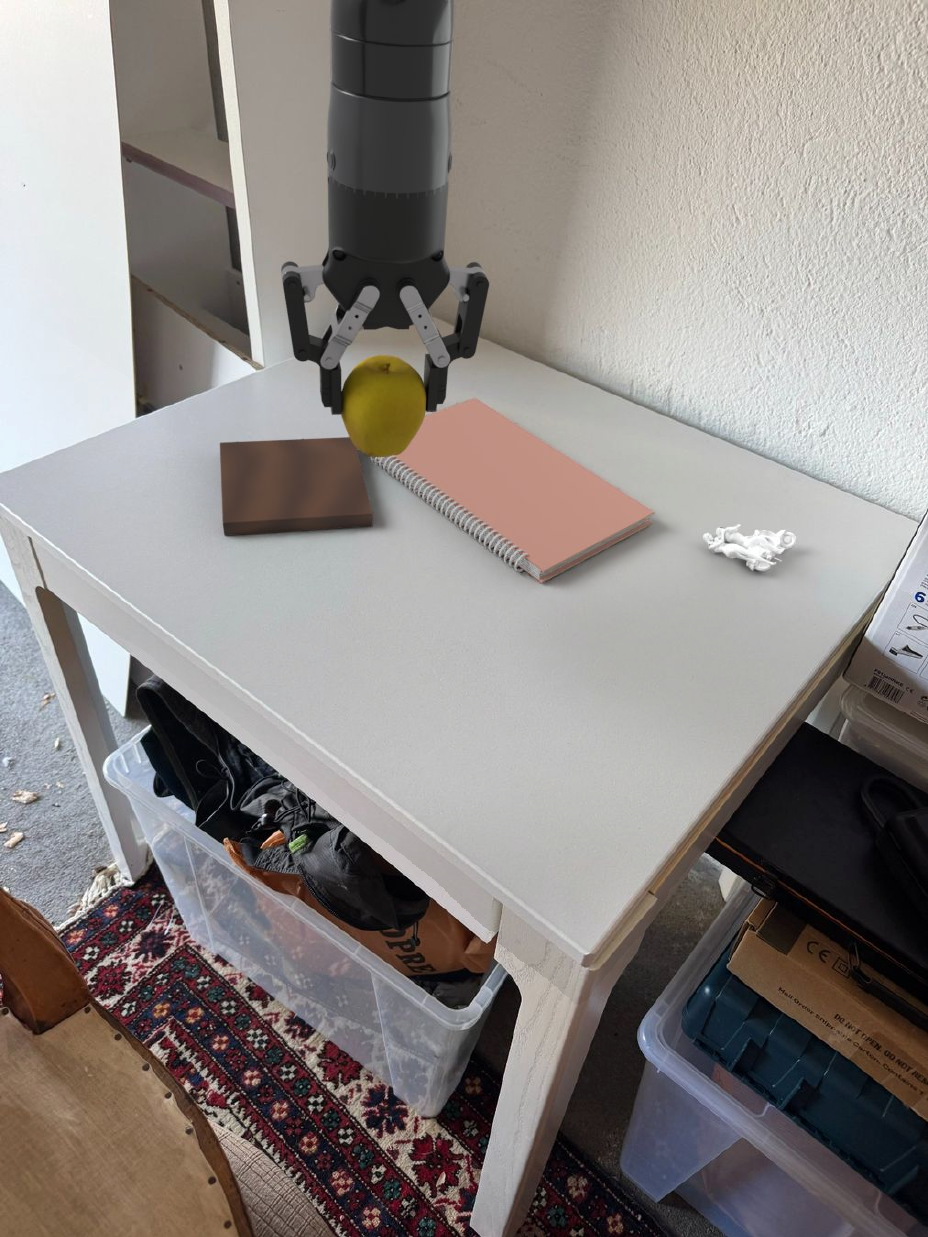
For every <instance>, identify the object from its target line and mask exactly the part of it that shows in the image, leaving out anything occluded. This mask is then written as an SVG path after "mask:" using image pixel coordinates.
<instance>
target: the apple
mask: <svg viewBox="0 0 928 1237" xmlns="http://www.w3.org/2000/svg"><path fill="white" fill-rule="evenodd" d="M341 396H342V414H341V415H340V416H341V419H342V422H343V425H344V427H345V429H346V432H347V434H348V437H350V439H351V441H352V442H353V444H354V445H355V447H356V448H357V450H358V451H360V452H361V453H363V454H364V455H366V456H368V457H370V458H371V457H373V458H375V457H387V456H393V455H399V454H401V453H402V452H403V451H404V450H405V449H406V448H407V447H408V445H409V444H410V443H411V441H412V440H413V438H414V437H415V435H416V434H417V432H418V430H419V428H420V427H421V425H422V423H423V420H424V417H425V415H426V413H427V412H426V392H425V387H424V379H423V378H422V376H421V374H420V373H419V372H418V371H417V370H416V369H415V367H413V366H412V365H411V364H410V363H408V362H406V361H405V360H403V359H402V358H400V357H398V356H395V355H390V354H389V355H387V354H378V355H373V356H370V357H367V358H365V359H362V361H360V362H359V363H357V364H356V365H355V366H354V367H353V368H352V369H351V371H350V372H349V374H348V376H347V378H346V379H345V380H344V383H343V386H342V388H341Z"/></svg>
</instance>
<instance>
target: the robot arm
mask: <svg viewBox="0 0 928 1237" xmlns="http://www.w3.org/2000/svg"><path fill="white" fill-rule="evenodd" d="M329 8H330V9H329V68H330V70H329V74H330V82H329V83H330V85H329V101H328V107H327V108H328V109H327V118H326V164H327V219H328V220H327V224H328V227H327V228H328V233H327V234H328V247H327V252H326V255H325V257H324V259H323V260H322V263H321V264H314V265H304V266H299V265H298V264H297V263H296V262H294V261H292V260H291V261H286V262H284V263H283V264H282V265H281V269H280V270H281V271H280V272H281V280H282V289H283V294H284V301H285V306H286V313H287V314H286V315H287V321H288V326H289V332H290V338H291V345H292V351H293V357H294V358H295V359H296V360H297V361H298V362H302V363H304V362H308V361H309V362H313V363H316V365H317V366H318V367H319V393H320V400H321V403H322V405H323V407H324V408H330V412H331V415H332V416H338V415H339V416H341V414H342V396H341V391H342V366H341V362H340V361H341V359H342V357H343V355H344V354H345V352H346V350H347V349H348V347H349V346H351V345H352V344H353V342H354V340H355V339H356V337H357V335H358V334H359V331H360V330H361V328H362V327H363V330H364V331H365V330H366V331H370V330H371V331H373V330H374V331H376V330H379V329H383V328H391V329H394V330H410V327H412V326H414V327H415V329H416V331H417V333H418V335H419V338H420V339H421V341H422V343H423V345H424V347H425V349H426V350H427V352H428V353H424V364H423V365H424V368H423V383H424V387H425V392H426V412H425V413H433V412H436V411H438V410H437V409H438V405H443V404H444V403H445V400H446V398H447V388H448V387H447V386H448V374H449V373H448V372H449V367H450V365H451V363H452V362H453V361H456V360H457V359H461V358H462V359H464V360H467V359H471V358H473V357H474V356H475V354H476V351H477V347H478V342H479V337H480V332H481V327H482V322H483V318H484V314H485V313H484V312H485V308H486V302H487V298H488V294H489V288H490V281H489V278H488V277H487V275H486V273H485V271H484V269H483V267H482V265H481V264H480V263H479V262H477V261H471V262H470V263H468V264H467V265H466V266H465V267H464V266H456V265H448V263H447V261H446V258H445V244H446V231H447V230H446V228H447V215H448V199H449V187H450V186H449V185H450V173H451V171H452V166H453V155H452V141H453V138H452V137H453V124H452V123H453V122H452V107H451V106H452V104H451V98H452V96H451V95H452V94H451V92H452V91H451V88H452V73H453V72H452V71H453V57H454V42H455V32H456V31H455V30H456V0H330V6H329ZM321 285H324V286H325V288H326V289H327V290H328V291H329V293H330V294H331V295H332V296H333V298H334V299H335V301H336V302H337V303H336V305H335V306H334V308H333V310H332V312H331V314H330V317H329V321H328V323H327V325H326V327H325V329H324V331H323V333H322V334H321V336H320V337H319V336H316V335H312V334H310V333H309V332H310V330H309V324H308V319H307V318H308V317H307V311H306V304H307V303H311V302H312V301H314V299H315V298H316V291H317V289H318V288H319V286H321ZM449 285H451V286H452V291H453V294H454V296H455V298H456V300H457V301H458V306H457V311H456V316H455V317H456V318H455V322H454V328H453V332H452V333H451V334H449V335H444V336H442V334H441V331H440V329H439V328H438V326H437V324H436V322H435V320H434V318H433V315H432V313H431V311H430V308H431V307H432V306H433V305H434V303H435V302H436V301H437V299H439V297H440V296H441V295H442V294H443V292H444V291H445V290H446V288H447V287H448V286H449Z"/></svg>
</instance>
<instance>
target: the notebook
mask: <svg viewBox="0 0 928 1237" xmlns="http://www.w3.org/2000/svg"><path fill="white" fill-rule="evenodd" d="M370 460H371V462H372V463H373V464H375V466H376V467H379V468H380V469H381V470H382V471H384V472H385V473H387V474H388V475H389V476H390V477H392V478H393V479H394V480H396V481H397V482H398V483H399V484H401V485H402V486H404V487H405V488H406V489H407V490H409V491H410V492H411V493H413V494H414V495H415V496H416V497H418V498H419V499H420V500H422V501H423V502H424V503H427V504H428V506H430V507H432V509H434V510H436V511H437V512H438V513H439V514H441V515H442V516H443V517H445V518H446V519H447V520H449V521H450V522H451V523H452V524H454V525H455V526H456V527H458V528H460V530H461V531H463V532H465V534H467V535H469V536H470V537H471V538H473V539H474V541H476V542H478V543H479V544H480V545H481V546H484V548H485V549H487V550H489V552H490V553H493V554H494V556H495V557H498V558H499V559H500V561H501V560H502V561H504V563H505V564H507V565H509V568H511V569H514V571H515V572H517V573H521V572H523V571H525V572H526V573H528V574H529V575H530V576H531V577H533V578H534V579H535V580H537V581H538V582H540V584H543V583H545V582H546V581H549V580H550V579H552V578H554V577H556V576H558V575H560V574H561V573H563V572H565V571H567V570H569V569H571V568H573V567H575V566H576V565H578V564H580V563H582V562H584V561H586V560H588V559H589V558H591V557H593V556H595V555H597V554H598V553H600V552H602V551H604V550H607V549H609V548H610V547H612V546H614V545H616V544H617V543H620V542H622V541H624V540H625V539H627V538H629V537H630V536H632V535H634V534H636V533H638V532H640V531H641V530H642V531H643V529H646V528H648V527H649V526H651V525H653V522H652V521H651V520H649V518H650V517H652V516H653V515H655V514H656V511H655V510H653V509H651V508H649V507H648V506H646V505H645V504H643V503H641V502H640V501H639V500H637V499H635V498H634V497H632V496H630V494H628V493H626V492H624V491H623V490H621V489H619V488H618V487H616V486H615V485H614V484H612V483H610V482H609V481H607V480H606V479H604V478H603V477H601V476H600V475H598V474H596V473H595V472H593V471H592V470H590V469H588V468H587V467H585V466H583V465H582V464H580V463H579V462H578V461H576V460H574V459H573V458H571V457H570V456H568V455H566V454H565V453H563V452H562V451H560V450H558V449H557V448H555V446H552V445H550V444H549V443H548V442H546V441H544V440H543V439H542V438H540V437H538V436H537V435H536V434H533V433H532V432H530V431H529V430H527V429H526V428H524V427H522V426H521V425H519V424H517V423H516V422H515V421H513V420H511V419H510V418H508V417H507V416H505V415H504V414H502V413H500V412H499V411H497V410H496V409H494V408H493V407H491V406H490V405H488V404H487V403H485V402H483V401H481V400H480V399H479V398H477V397H475V396H474V397H472V398H469V399H466V400H463V401H461V402H458V403H455V404H452V405H450V406H447V407H445V408H442V409H439V410H437V411H436V412H430V413H428V414H425V417H424V420H423V423H422V425H421V427H420V428H419V430H418V432H417V434H416V435H415V437H414V438H413V440H412V441H411V443H410V444H409V445H408V447H407V448H406V449H405V450H404V451H403V452H402V453H401V454H399V455H393V456H387V457H371V456H370ZM453 520H454V521H453ZM472 534H473V535H472ZM482 541H483V542H482ZM487 545H488V546H487ZM492 549H493V550H492ZM497 552H498V554H497ZM502 556H503V557H502ZM507 560H509V561H507ZM513 563H514V565H513ZM518 567H519V568H520V569H518Z"/></svg>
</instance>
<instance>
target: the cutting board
mask: <svg viewBox="0 0 928 1237" xmlns="http://www.w3.org/2000/svg"><path fill="white" fill-rule="evenodd" d="M219 461H220V463H219V464H220V486H221V488H220V489H221V513H222V526H223V527H222V529H223V535H224V536H239V535H253V534H271V533H285V532H301V531H318V530H334V529H351V528H364V527H365V528H366V527H373V517H374V515H373V510H372V506H371V501H370V497H369V493H368V489H367V484H366V480H365V475H364V471H363V467H362V464H361V463H362V462H361V459H360V454H359V450H358V449H357V448H356V447H355V445H354V444H353V442H352V441H351V439H350V437H349V436H348V437H347V436H346V437H345V436H344V437H323V438H322V437H321V438H299V439H298V438H297V439H274V440H272V439H271V440H250V441H248V440H247V441H227V442H226V441H225V442H223V441H221V442H219Z"/></svg>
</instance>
